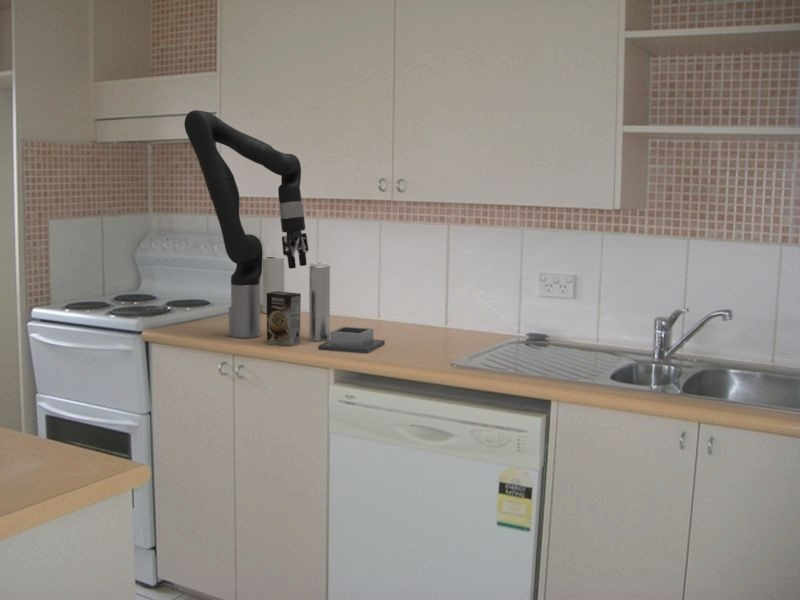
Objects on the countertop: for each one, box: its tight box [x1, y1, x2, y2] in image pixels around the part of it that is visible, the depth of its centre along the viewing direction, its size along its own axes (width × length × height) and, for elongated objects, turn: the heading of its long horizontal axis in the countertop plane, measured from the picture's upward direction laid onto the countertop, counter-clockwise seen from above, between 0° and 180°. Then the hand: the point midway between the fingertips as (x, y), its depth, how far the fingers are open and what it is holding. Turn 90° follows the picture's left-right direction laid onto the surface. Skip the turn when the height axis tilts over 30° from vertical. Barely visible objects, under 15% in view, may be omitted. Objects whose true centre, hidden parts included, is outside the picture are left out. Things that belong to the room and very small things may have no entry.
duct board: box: [317, 326, 385, 354], centre depth 278 cm, size 16×16×5 cm
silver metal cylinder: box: [308, 262, 331, 342], centre depth 288 cm, size 6×6×25 cm
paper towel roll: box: [262, 256, 285, 315], centre depth 340 cm, size 7×6×21 cm
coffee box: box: [266, 291, 302, 347], centre depth 281 cm, size 9×6×16 cm
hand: (297, 267), depth 287 cm, fingers open, 8 cm apart
